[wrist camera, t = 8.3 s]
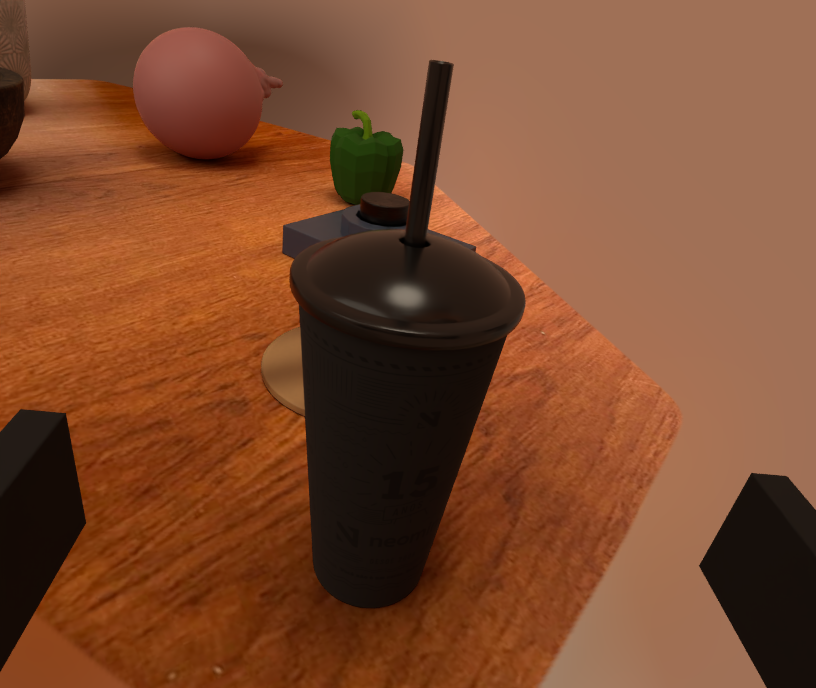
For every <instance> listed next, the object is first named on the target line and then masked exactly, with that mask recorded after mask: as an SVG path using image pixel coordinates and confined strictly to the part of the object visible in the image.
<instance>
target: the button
mask: <svg viewBox="0 0 816 688" xmlns="http://www.w3.org/2000/svg"><path fill="white" fill-rule="evenodd" d="M409 202H410V201H409V200H408V199H406V198H404V197H402V196H399V195H395V194H391V193H384V192H370V193H366V194H363V195H362V196H361V203H360V214H359V219H360V220H361V221H364V222H367V223H369V224H372V225H379V226H385V227H402V226H405V225H406V224H407V217H408V209H409Z"/></svg>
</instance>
